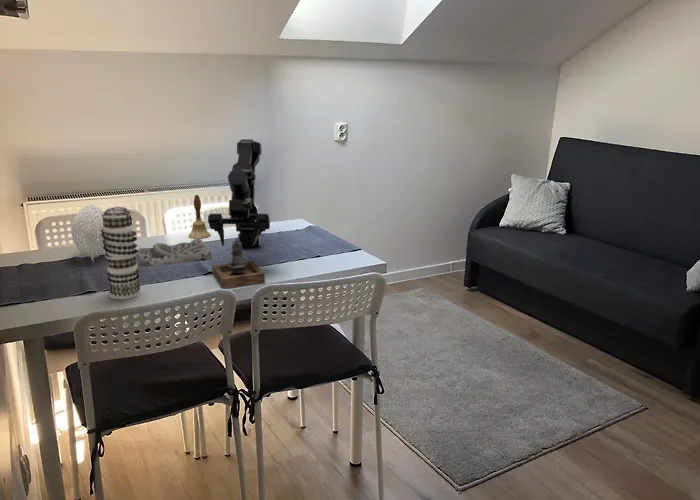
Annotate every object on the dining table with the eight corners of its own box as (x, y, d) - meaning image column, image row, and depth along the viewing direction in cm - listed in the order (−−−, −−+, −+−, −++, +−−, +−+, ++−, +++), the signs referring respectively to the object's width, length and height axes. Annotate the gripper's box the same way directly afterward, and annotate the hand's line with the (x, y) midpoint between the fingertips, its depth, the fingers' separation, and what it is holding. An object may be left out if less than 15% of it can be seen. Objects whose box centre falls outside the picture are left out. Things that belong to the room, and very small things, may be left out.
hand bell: (210, 238, 227) (208, 197, 222) (187, 239, 225) (185, 197, 220) (210, 232, 235) (208, 192, 230) (188, 233, 233) (186, 193, 228)
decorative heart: (105, 265, 196) (100, 214, 191) (70, 267, 194) (63, 215, 189) (113, 248, 213) (108, 201, 208) (81, 250, 211) (75, 202, 206)
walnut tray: (253, 269, 195) (252, 260, 194) (264, 282, 183) (264, 273, 182) (212, 274, 190) (212, 265, 189) (222, 288, 178) (221, 279, 177)
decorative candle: (100, 296, 171) (90, 211, 163) (123, 286, 179) (114, 203, 172) (126, 301, 168) (117, 214, 160) (148, 290, 176) (141, 207, 168)
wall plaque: (203, 245, 221) (202, 235, 219) (213, 261, 204) (212, 250, 203) (135, 252, 212) (133, 241, 210) (139, 269, 195) (138, 257, 194)
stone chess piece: (248, 272, 189) (247, 235, 186) (245, 278, 184) (244, 241, 180) (230, 271, 189) (228, 235, 185) (226, 278, 184) (224, 240, 180)
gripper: (206, 188, 185) (202, 233, 178) (268, 188, 186) (266, 233, 179) (212, 206, 195) (208, 250, 188) (270, 207, 196) (269, 249, 189)
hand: (237, 245), depth 186 cm, fingers open, 9 cm apart
